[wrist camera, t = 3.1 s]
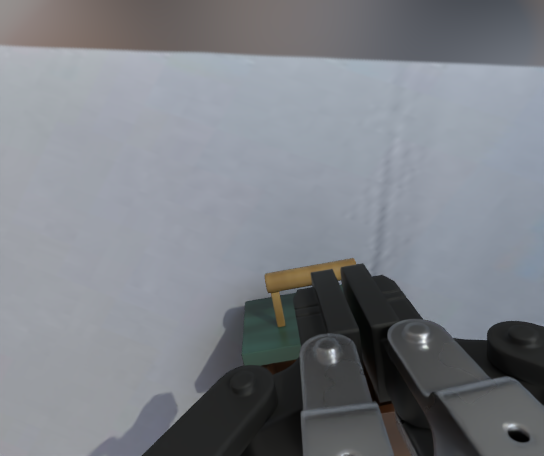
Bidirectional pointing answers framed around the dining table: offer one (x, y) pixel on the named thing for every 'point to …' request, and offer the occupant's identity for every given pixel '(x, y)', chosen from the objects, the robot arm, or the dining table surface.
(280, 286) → the drawer
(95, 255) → the dining table surface
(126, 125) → the dining table surface
